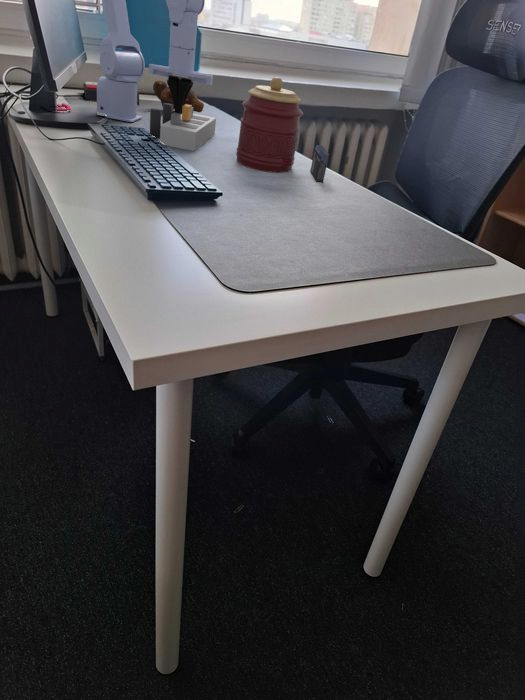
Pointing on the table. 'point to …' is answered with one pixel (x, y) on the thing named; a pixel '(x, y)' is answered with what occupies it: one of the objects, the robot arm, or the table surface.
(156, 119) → the disc
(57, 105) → the fitness band
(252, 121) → the canister
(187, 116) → the block
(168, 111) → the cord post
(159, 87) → the decorative turtle
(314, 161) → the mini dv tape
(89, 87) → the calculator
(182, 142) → the breaker panel
